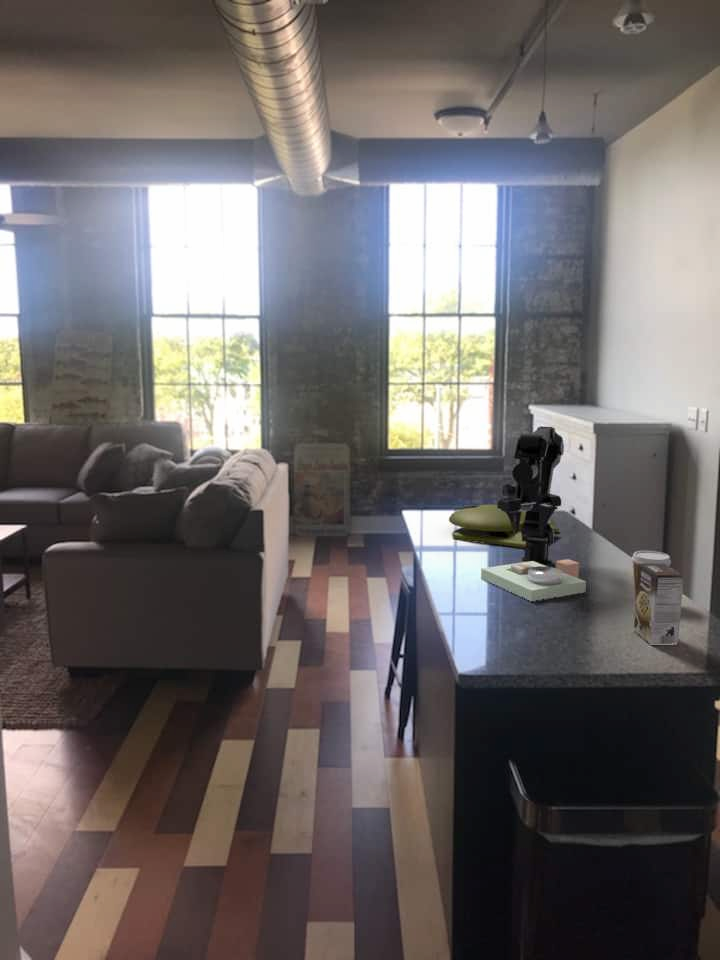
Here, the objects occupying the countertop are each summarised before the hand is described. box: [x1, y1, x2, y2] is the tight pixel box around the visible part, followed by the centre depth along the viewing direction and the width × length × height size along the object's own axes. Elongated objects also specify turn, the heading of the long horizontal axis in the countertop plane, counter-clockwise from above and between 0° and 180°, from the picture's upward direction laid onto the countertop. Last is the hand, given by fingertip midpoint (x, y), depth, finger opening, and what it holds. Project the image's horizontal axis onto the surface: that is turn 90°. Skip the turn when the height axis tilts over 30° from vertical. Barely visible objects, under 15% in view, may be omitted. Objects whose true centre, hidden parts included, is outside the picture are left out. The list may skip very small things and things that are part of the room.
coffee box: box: [633, 563, 685, 645], centre depth 168 cm, size 9×6×16 cm
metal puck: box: [528, 566, 563, 585], centre depth 201 cm, size 9×9×2 cm
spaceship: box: [448, 504, 560, 550], centre depth 265 cm, size 35×31×10 cm
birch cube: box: [511, 562, 533, 575], centre depth 210 cm, size 4×4×4 cm
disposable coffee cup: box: [631, 550, 672, 600], centre depth 194 cm, size 10×10×12 cm
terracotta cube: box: [555, 558, 580, 579], centre depth 214 cm, size 4×4×4 cm
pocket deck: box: [480, 561, 587, 602], centre depth 207 cm, size 18×22×3 cm
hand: (528, 531), depth 218 cm, fingers open, 9 cm apart
